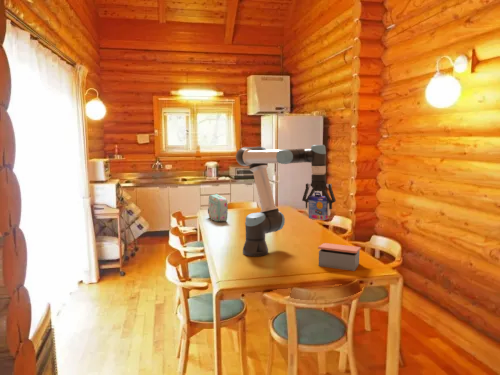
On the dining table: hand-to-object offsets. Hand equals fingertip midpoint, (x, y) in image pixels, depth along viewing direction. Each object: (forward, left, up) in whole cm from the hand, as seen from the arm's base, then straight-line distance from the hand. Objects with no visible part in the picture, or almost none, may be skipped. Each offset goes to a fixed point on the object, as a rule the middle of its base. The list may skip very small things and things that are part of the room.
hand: (318, 214), depth 205 cm
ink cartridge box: (0, 0, -2) cm, 2 cm away
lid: (+11, +1, -18) cm, 21 cm away
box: (+11, 0, -27) cm, 29 cm away
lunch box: (-107, +72, -27) cm, 132 cm away
